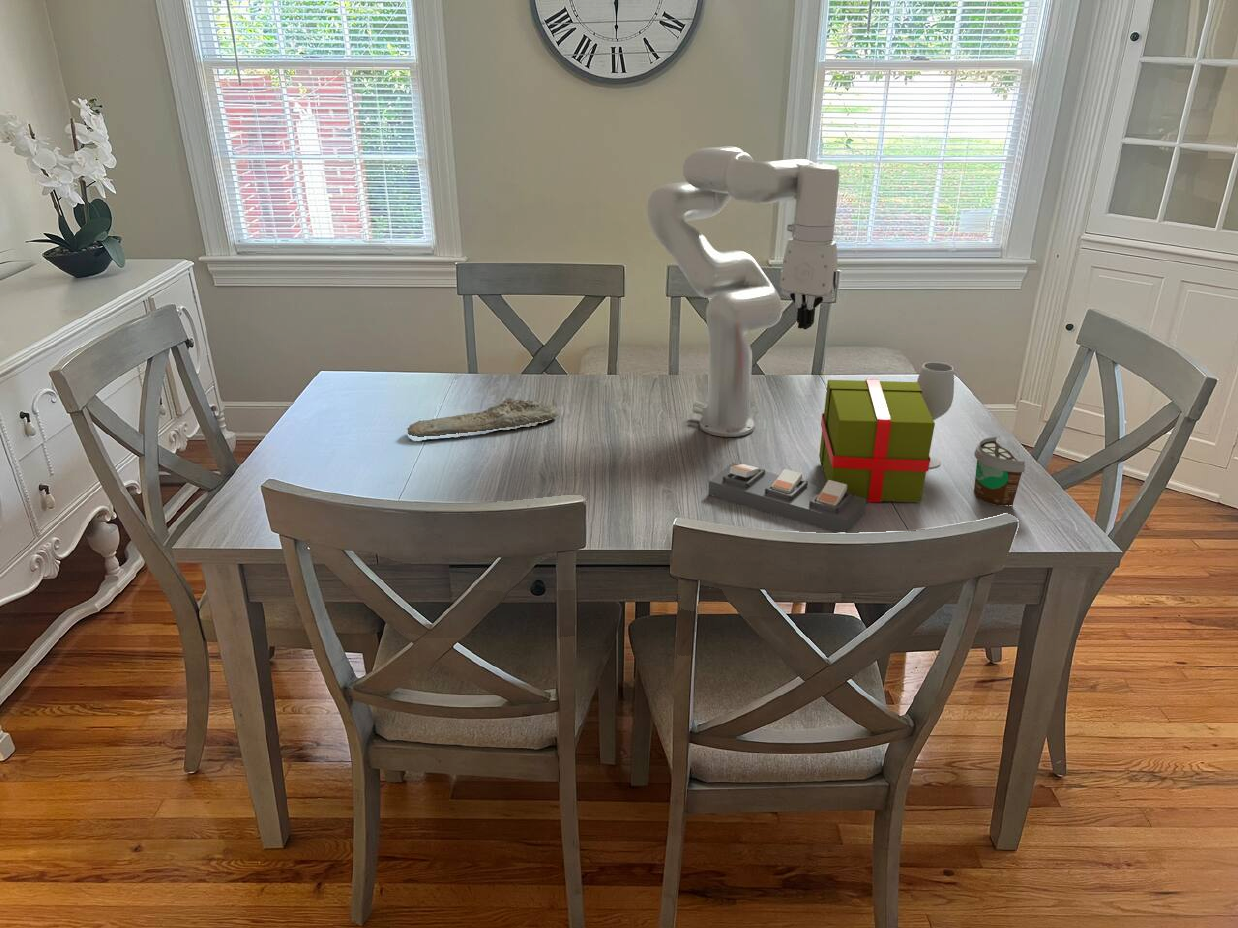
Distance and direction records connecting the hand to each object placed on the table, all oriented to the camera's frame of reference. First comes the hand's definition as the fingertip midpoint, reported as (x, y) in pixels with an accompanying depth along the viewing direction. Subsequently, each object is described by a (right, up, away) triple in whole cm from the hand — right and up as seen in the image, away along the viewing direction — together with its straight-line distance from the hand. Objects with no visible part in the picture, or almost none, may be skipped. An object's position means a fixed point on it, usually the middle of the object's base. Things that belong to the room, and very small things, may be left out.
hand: (804, 327), depth 175 cm
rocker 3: (+2, -33, -12) cm, 35 cm away
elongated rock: (-68, -19, +29) cm, 76 cm away
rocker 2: (-5, -31, -7) cm, 32 cm away
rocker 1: (-12, -28, -3) cm, 31 cm away
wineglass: (+27, -27, +12) cm, 40 cm away
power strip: (-5, -35, -5) cm, 35 cm away
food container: (+35, -33, -2) cm, 48 cm away
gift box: (+13, -30, +5) cm, 33 cm away
